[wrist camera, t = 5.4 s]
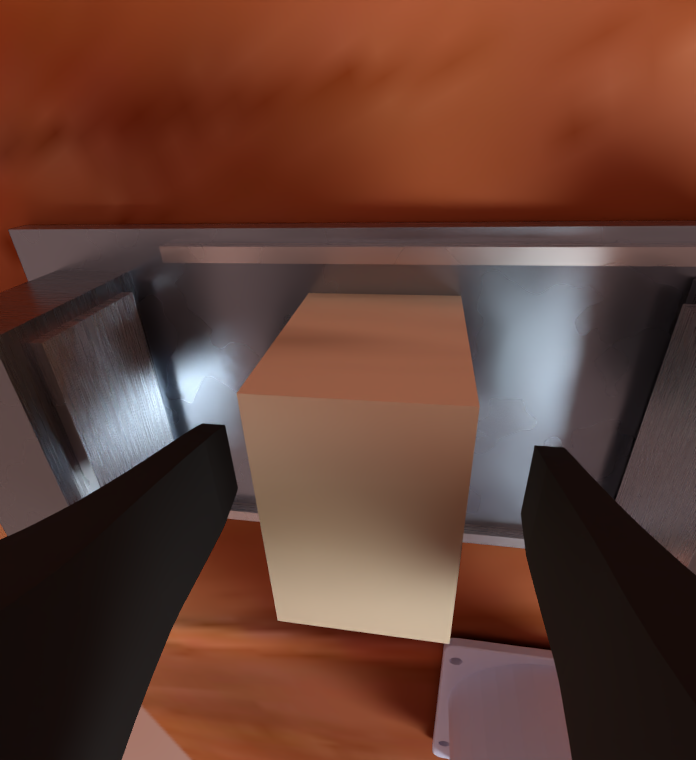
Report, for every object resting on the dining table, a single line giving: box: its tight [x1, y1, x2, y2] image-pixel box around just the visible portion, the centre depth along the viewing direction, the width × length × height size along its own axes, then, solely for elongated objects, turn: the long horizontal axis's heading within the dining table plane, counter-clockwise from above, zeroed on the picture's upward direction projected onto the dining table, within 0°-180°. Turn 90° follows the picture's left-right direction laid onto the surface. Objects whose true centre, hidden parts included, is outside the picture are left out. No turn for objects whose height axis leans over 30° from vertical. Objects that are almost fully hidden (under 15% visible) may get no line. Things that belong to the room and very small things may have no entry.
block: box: [236, 293, 480, 644], centre depth 11 cm, size 6×4×5 cm, turn 2°
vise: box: [0, 220, 696, 548], centre depth 11 cm, size 10×20×5 cm, turn 92°
